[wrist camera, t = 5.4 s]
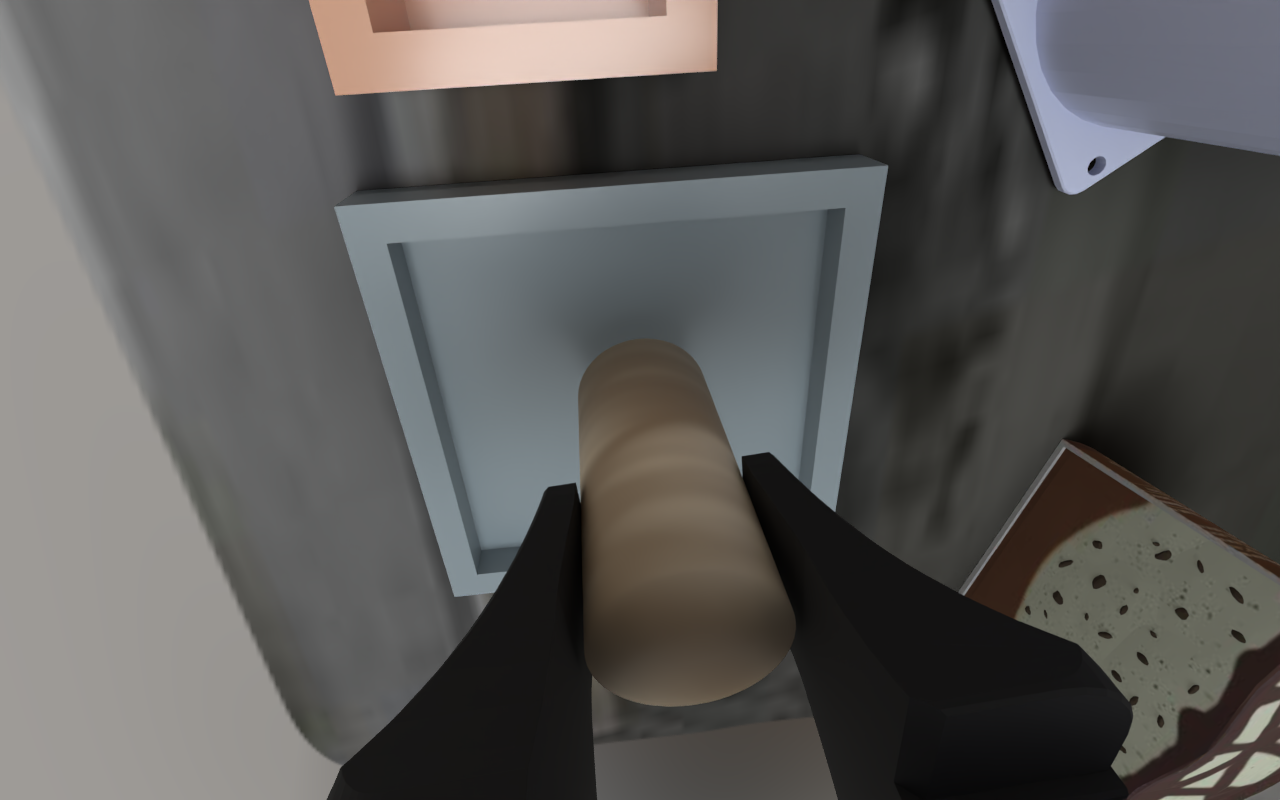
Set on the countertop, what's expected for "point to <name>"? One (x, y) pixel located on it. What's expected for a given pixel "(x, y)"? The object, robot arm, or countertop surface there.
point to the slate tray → (610, 320)
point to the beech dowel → (670, 537)
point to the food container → (1151, 622)
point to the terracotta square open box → (509, 41)
